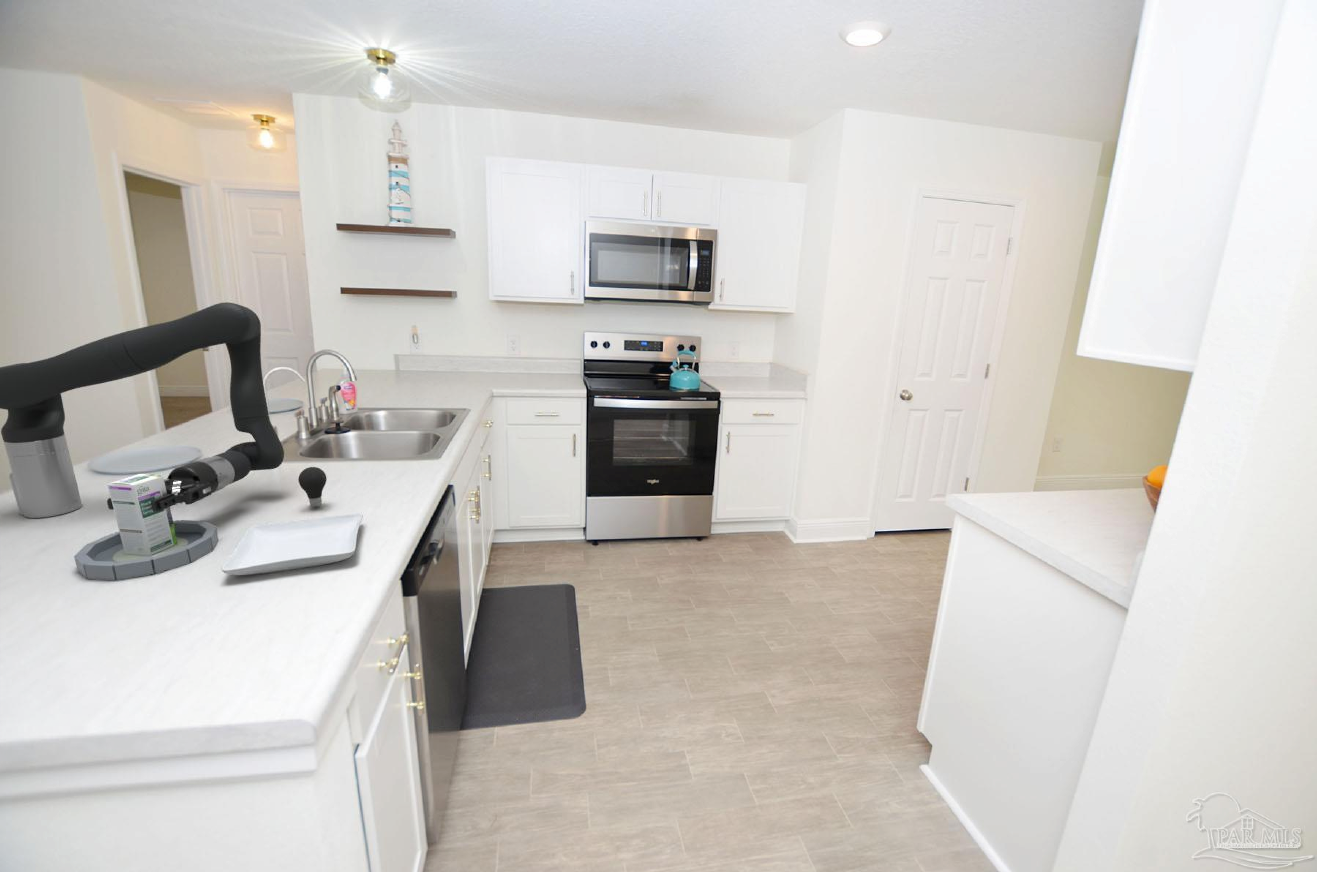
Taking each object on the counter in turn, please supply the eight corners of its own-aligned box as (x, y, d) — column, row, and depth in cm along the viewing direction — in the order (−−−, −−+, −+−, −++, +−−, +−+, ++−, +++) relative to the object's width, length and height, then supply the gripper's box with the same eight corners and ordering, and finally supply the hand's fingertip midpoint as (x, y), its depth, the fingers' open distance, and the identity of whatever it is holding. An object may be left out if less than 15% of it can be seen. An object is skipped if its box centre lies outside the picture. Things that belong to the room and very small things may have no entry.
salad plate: (251, 539, 119) (248, 523, 118) (364, 525, 127) (363, 510, 126) (221, 587, 100) (218, 570, 99) (357, 567, 108) (355, 551, 107)
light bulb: (301, 513, 132) (295, 472, 129) (303, 505, 136) (297, 465, 134) (329, 509, 134) (324, 469, 132) (330, 501, 139) (325, 462, 136)
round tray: (47, 577, 101) (43, 562, 101) (149, 530, 121) (146, 518, 120) (156, 582, 101) (152, 567, 100) (241, 534, 120) (239, 522, 119)
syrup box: (149, 557, 107) (133, 484, 104) (123, 554, 108) (106, 482, 105) (178, 544, 113) (164, 474, 109) (153, 541, 114) (138, 472, 110)
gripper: (167, 459, 121) (90, 485, 105) (232, 462, 120) (164, 488, 105) (173, 492, 123) (99, 523, 107) (237, 495, 122) (172, 526, 107)
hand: (131, 505), depth 106 cm, fingers open, 8 cm apart
